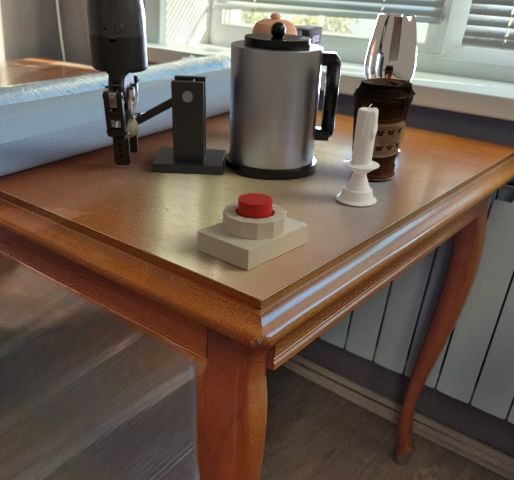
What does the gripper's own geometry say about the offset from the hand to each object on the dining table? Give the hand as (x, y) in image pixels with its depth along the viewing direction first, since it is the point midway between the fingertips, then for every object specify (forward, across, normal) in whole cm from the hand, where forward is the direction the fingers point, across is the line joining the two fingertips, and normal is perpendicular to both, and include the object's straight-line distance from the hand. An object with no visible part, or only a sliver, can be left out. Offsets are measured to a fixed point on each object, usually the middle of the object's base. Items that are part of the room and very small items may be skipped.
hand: (127, 157), depth 90 cm
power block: (+1, +30, +19) cm, 35 cm away
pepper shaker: (+1, -16, +21) cm, 27 cm away
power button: (-3, +30, +19) cm, 35 cm away
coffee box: (+1, -32, +26) cm, 41 cm away
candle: (+1, +13, +32) cm, 35 cm away
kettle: (+1, -1, +22) cm, 23 cm away
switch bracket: (+1, 0, +9) cm, 9 cm away
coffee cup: (+1, +2, +36) cm, 36 cm away
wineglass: (+1, -12, +39) cm, 41 cm away
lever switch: (-6, 0, +6) cm, 8 cm away
